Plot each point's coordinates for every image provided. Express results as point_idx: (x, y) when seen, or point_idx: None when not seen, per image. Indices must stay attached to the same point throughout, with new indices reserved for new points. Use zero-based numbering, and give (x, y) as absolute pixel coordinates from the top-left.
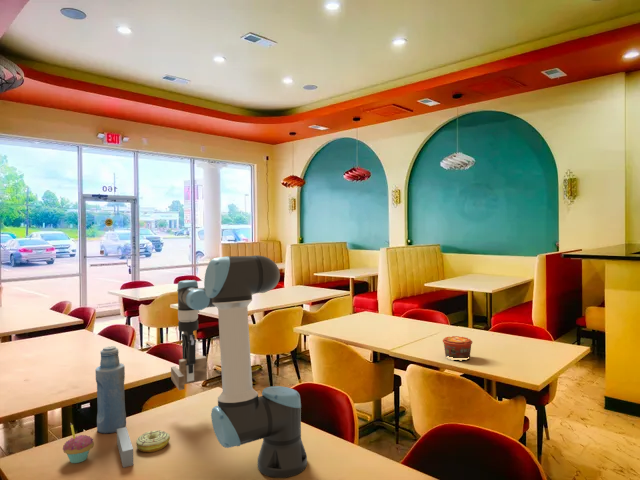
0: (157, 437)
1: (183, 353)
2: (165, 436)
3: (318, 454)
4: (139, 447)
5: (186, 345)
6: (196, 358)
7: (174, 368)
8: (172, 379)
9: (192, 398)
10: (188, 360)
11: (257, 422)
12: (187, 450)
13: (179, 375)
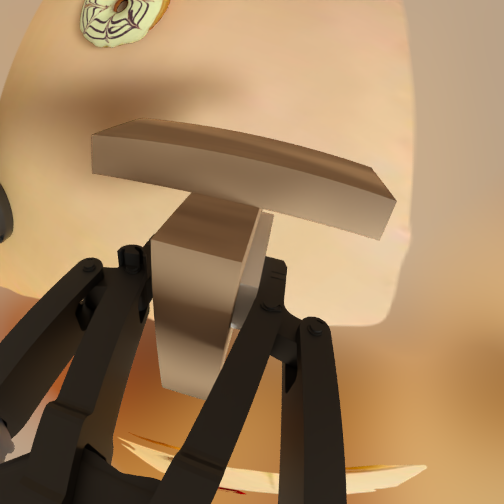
0: (93, 14)
1: (301, 364)
2: (89, 34)
3: (7, 254)
4: None
5: (46, 422)
6: (177, 358)
7: (332, 199)
8: (331, 157)
9: (391, 244)
10: (81, 283)
11: None
12: (63, 82)
13: (117, 149)
